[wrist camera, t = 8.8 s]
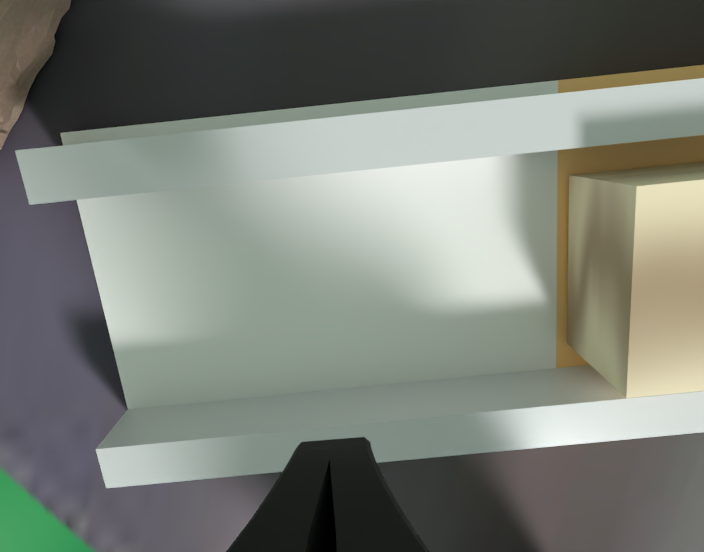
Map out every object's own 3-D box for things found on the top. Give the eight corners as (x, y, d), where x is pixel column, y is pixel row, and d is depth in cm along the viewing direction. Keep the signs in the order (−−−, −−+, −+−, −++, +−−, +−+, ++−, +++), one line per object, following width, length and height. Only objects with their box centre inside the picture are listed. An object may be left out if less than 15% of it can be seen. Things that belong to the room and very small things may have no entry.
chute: (854, 376, 20) (953, 421, 16) (147, 443, 20) (109, 500, 17) (914, 43, 16) (1050, 21, 13) (73, 133, 17) (9, 132, 14)
